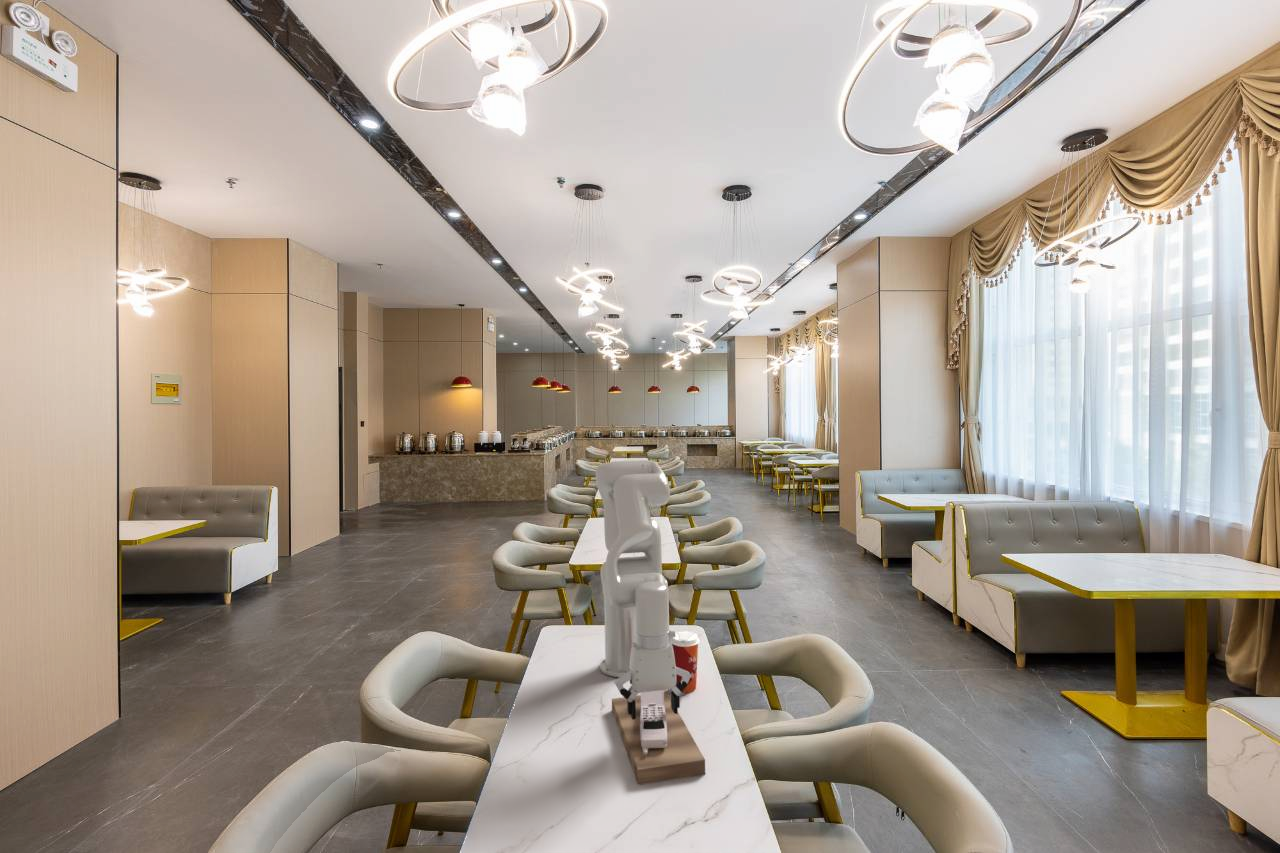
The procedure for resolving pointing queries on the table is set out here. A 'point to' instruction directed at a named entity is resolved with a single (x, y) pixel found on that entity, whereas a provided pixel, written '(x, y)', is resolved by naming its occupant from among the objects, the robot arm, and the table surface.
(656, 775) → the walnut stand
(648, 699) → the mobile phone
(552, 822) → the table surface
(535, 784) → the table surface
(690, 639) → the paper cup
